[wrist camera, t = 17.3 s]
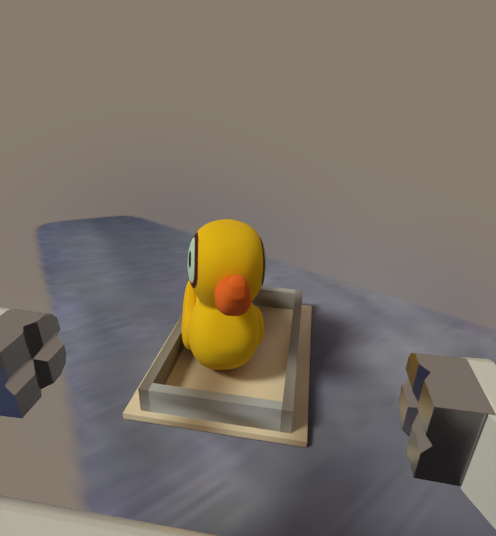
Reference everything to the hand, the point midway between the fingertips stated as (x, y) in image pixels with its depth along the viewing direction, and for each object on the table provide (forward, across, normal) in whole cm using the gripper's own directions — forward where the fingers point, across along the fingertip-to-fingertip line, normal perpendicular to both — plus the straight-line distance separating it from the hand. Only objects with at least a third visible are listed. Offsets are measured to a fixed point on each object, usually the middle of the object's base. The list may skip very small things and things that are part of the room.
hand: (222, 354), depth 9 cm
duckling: (+14, +4, +12) cm, 19 cm away
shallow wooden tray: (+15, +3, +12) cm, 20 cm away
